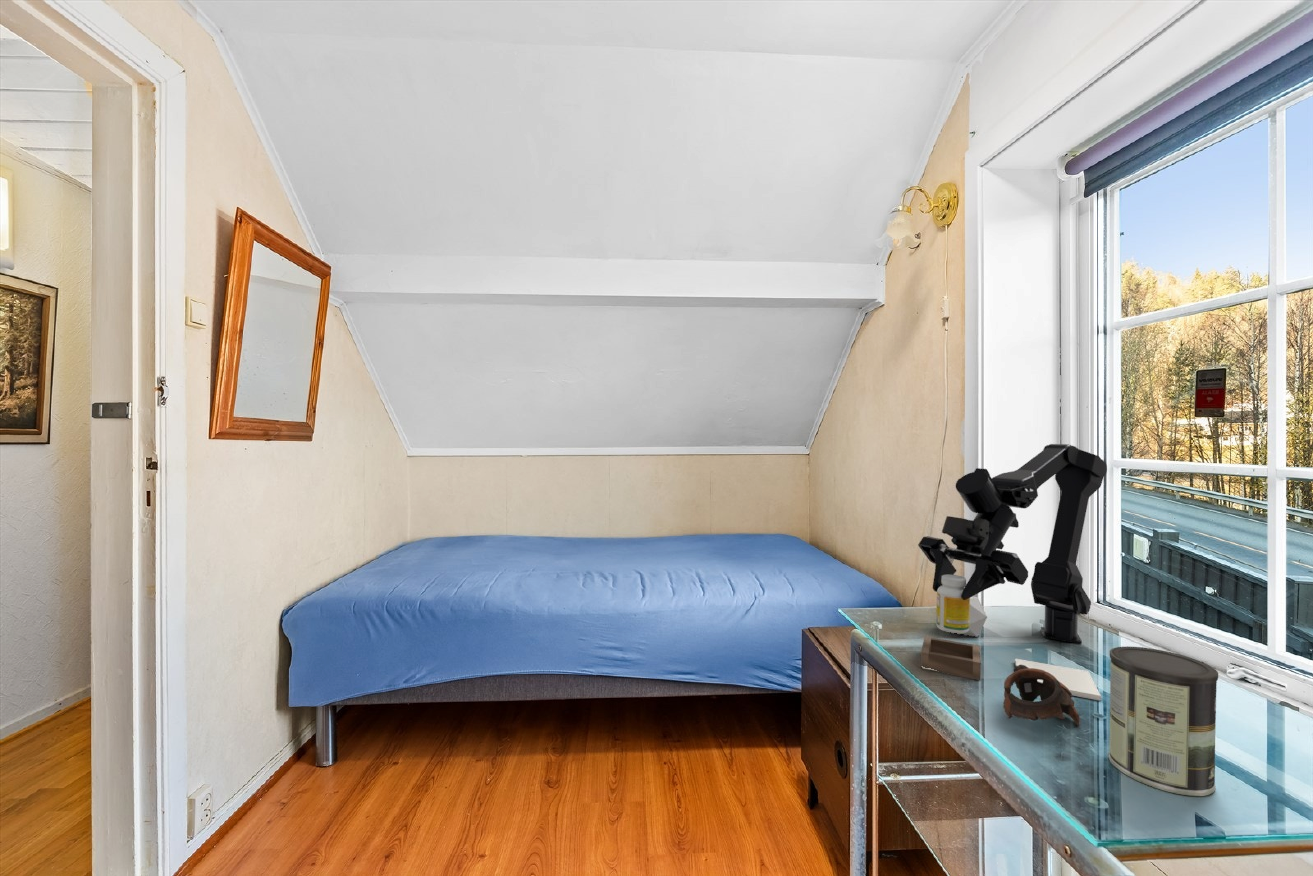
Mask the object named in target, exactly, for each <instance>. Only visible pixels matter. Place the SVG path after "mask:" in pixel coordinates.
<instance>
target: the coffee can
mask: <svg viewBox="0 0 1313 876" xmlns="http://www.w3.org/2000/svg"><path fill="white" fill-rule="evenodd" d="M1109 659H1110V678H1109V679H1110V680H1109V681H1110V687H1109V689H1110V690H1109V691H1110V692H1109V694H1110V695H1109V696H1110V697H1109V741H1108V742H1109V744H1108V745H1109V747H1108V748H1109V749H1108V751H1109V752H1108V761H1109V762H1110V763H1111V764H1112V766H1113V767H1115V768H1116V769H1117V770H1118V771H1120V772H1121V773H1122V774H1124V775H1126V776H1128V777H1130V778H1131V779H1133V780H1135V781H1136V782H1140V783H1141V784H1144V785H1147V786H1149V787H1152V788H1155V789H1157V790H1160V791H1164V792H1167V793H1172V794H1177V795H1183V796H1189V797H1190V796H1191V797H1205V796H1209V795H1212V794H1213V793H1215V791H1216V782H1215V780H1216V777H1215V775H1216V721H1217V719H1216V718H1217V717H1216V716H1217V684H1218V682H1217V681H1218V679H1219V672H1218V671H1217V669H1215V668H1214V667H1212V666H1211V665H1210V664H1207V663H1205V662H1203V661H1200V660H1198V659H1195V658H1192V657H1188V656H1186V655H1184V654H1180V653H1175V652H1171V651H1165V650H1161V649H1156V648H1155V649H1154V648H1151V647H1150V648H1148V647H1143V646H1142V647H1140V646H1116V647H1113V648H1111V649H1110V650H1109Z"/></svg>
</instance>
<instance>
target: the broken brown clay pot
mask: <svg viewBox="0 0 1313 876" xmlns="http://www.w3.org/2000/svg"><path fill="white" fill-rule="evenodd" d="M1012 671H1013V672H1012V673H1010V674H1009V675H1008V676H1007V677H1006V679H1005V681H1004V683H1003V689H1004V691H1003V692H1004V693H1003V696H1004V697H1003V698H1004V699H1003V709H1004V713H1005V714H1006V716H1007V718H1008V719H1011V718H1012V717H1015V718H1021V719H1024V720H1025V719H1026V720H1032V721H1038V719H1040V720H1042V721H1043V720H1048V719H1051V718H1058V719H1060V720H1065V716H1064V714H1066V715H1068V717H1070V718H1071V719H1072V720H1073V722H1074V724H1075V725H1076V726H1078V727H1080V715H1079V712H1078V710H1077V708H1076V707H1075V704H1076V703H1075V700H1073V699H1072V696H1073V695H1072V693H1071V692H1070V690H1069V689H1068V688H1067V687H1066V686H1065V685H1063V684H1062V683H1061V682H1059V681H1058V680H1057V679H1056V678H1055V677H1054V676H1053V675H1052V674H1050V673H1048V672H1045V671H1044V670H1040V669H1035V668H1028V667H1026V666H1025V665H1018V666H1016V665H1015V667H1013V669H1012ZM1038 679H1039V680H1043V683H1041V682H1038V681H1037V680H1038ZM1014 684H1015V685H1016V688H1017V689H1018V692H1019V697H1020V698H1019V697H1018V696H1016V695H1015V694H1014V693H1012V686H1013V685H1014ZM1038 697H1039V698H1040V700H1038V701H1035V700H1036V699H1038Z"/></svg>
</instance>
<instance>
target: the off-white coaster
mask: <svg viewBox="0 0 1313 876" xmlns="http://www.w3.org/2000/svg"><path fill="white" fill-rule="evenodd" d="M1014 664H1015V667H1016V666H1018V665H1025V666H1026V667H1028V668H1035V669H1040V670H1044V671H1045V672H1048V673H1050V674H1052V675H1053V676H1054V677H1055V678H1056V679H1057V680H1058V681H1059V682H1061V683H1062V684H1063V685H1065V686H1066V687H1067V688H1068V689H1069V690H1070V692H1071V693H1072V695H1071V696H1075V697H1079V698H1085V699H1089V700H1095V701H1099V702H1100V701H1102V695H1101V693H1100V691H1099V690H1098V687H1097V685H1096V683H1095V682H1094V680H1093V677H1092V676H1091V673H1090V671H1088V670H1083V669H1078V668H1072V667H1066V666H1061V665H1055V664H1050V663H1049V664H1048V663H1043V662H1037V661H1031V660H1025V659H1020V658H1014ZM1037 681H1038V682H1041V683H1043V680H1039V679H1038V680H1037Z"/></svg>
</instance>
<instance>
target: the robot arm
mask: <svg viewBox="0 0 1313 876" xmlns="http://www.w3.org/2000/svg"><path fill="white" fill-rule="evenodd" d="M1107 467H1108V466H1107V463H1106V462H1105V461H1104V460H1103V459H1102V458H1101V457H1100V456H1099V455H1097V454H1094V453H1091V452H1088V451H1085V450H1082V449H1079V448H1078V447H1077V446H1074V445H1072V444H1069V443H1068V444H1066V443H1064V444H1063V443H1050V444H1047V445H1045V446H1044V447H1043V449H1042V451H1040V452H1039V453H1038V454H1036V455H1035V456H1034V457H1032V458H1031V459H1030V460H1029V461H1027V462H1025V463H1024V464H1023V465H1022V466H1020V467H1019V468H1018V469H1016V470H1012V471H1008V472H1003V473H1000V474H997V475H995V476H993V477H991V475H990V474H991V473H990V472H989V471H988V469H987V468H981V467H977V468H975V469H974V471H973V472H972V471H971V472H969V473H967V474H964V475H963V476H961V477H960V478H958V479H957V481H956V483H955V490H956V491H957V492H958V494H959V495H960V497H961V498H962V500H963V501H964V503H965V505H966V506H967V508H968V509H969V510H970V511H971V512H973V513H974V514H975V513H976V516H975V517H974V519H972V520H971V519H967V518H962V517H955V516H949V515H946V517H945V520H944V524H943V527H942V530H941V533H942V534H944V535H945V534H946V535H948V536H949V537H951V539H950V540H951V541H950V542H951V543H952V544H953V545H955V546H956V548H953V547H950V546H948V545H947V543H946V542H945V539H943V538H938V537H934V536H923V537H922V538H921V540H920V541H919V542H918V544H917V546H918V547H919V548H920V549H921V552H922V553H923V554H924V555H925V557H926V558H927V559H928V560H929V562H931V563H932V564H934V565H935V566H934V567H935V568H934V575H933V580H932V581H933V582H932V590H933V591H934V592H935V593H937V589H938V588H939V587H940V586H943V584H942V582H941V580H942V575H955V574H956V572H957V571H958V570H957V568H955V566H954V564H953V563H954V560H956V561H961V562H962V563H968V564H973V565H975V567H974V571H973V573H972V574H971V576H970V578H969V579H968V581H967V582H966V586H965V587H964V590H963V592H962V594H961V598H962V599H963V600H967V599H968V598H970V597H975V596H976V595H978V594H980V593H981V592H984V591H985V590H987V589H990V588H992V587H994V586H997V585H999V584H1000V585H1005V584H1006V581H1007V582H1009V583H1013V584H1017V585H1022V586H1023V585H1025V583H1026V581H1027V579H1028V578H1029V571H1028V570H1027V567H1026V566H1025V564H1024V563H1023V562H1022V560H1021V558H1020V557H1019V556H1018V554H1017V553H1015V552H1010V551H1006V550H1005V551H1004V550H1003V548H1004V546H1005V545H1004V543H1003V542H1002V540H1003V539H1004V537H1005V535H1006V533H1007V532H1008V531H1009V529H1010V527H1011V528H1016V529H1018V528H1019V526H1020V525H1019V524H1020V523H1019V521H1018V519H1017V513H1015V512H1014V511H1013V510H1012V508H1018V509H1027V508H1029V507H1030V506H1031V505H1032V504H1033V503H1034V502H1035V501H1036V500H1037V498H1038V497H1039V493H1038V489H1039V488H1040V487H1041V486H1042V485H1044V484H1045V483H1046V482H1047V481H1048V480H1050V479H1051V478H1052V477H1054V480H1055V481H1056V484H1057V485H1058V488H1059V489H1060V497H1059V502H1058V507H1057V511H1056V517H1055V521H1054V526H1053V532H1052V536H1051V542H1050V544H1049V545H1050V547H1049V551H1048V554H1047V557H1046V558H1045V559H1044V560H1043V561H1041V562H1040V561H1036V563H1035V564H1034V568H1033V569H1034V571H1033V575H1032V577H1031V582H1030V588H1031V593H1032V597H1033V603H1034V604H1035V605H1041V606H1044V626H1040V632H1041V635H1042V636H1043V638H1044V639H1049V640H1054V641H1055V640H1056V641H1063V642H1068V643H1075V644H1082V643H1083V640H1082V638H1081V637H1080V635H1079V633H1078V628H1079V627H1078V626H1079V621H1078V620H1079V615H1088V614H1089V612H1090V609H1091V605H1092V601H1091V599H1090V598H1089V596H1088V595H1087V593H1086V591H1085V589H1084V588H1083V582H1084V581H1083V580H1084V579H1083V575H1082V574H1081V571H1080V570H1079V567H1078V565H1077V560H1078V555H1079V551H1080V545H1081V540H1082V539H1081V538H1082V534H1083V529H1084V525H1085V519H1086V514H1087V509H1088V504H1089V499H1090V497H1091V496H1092V495H1094V493H1096V492H1097V491H1098V490H1099V489H1100V488H1101V486H1102V484H1103V480H1104V477H1105V476H1106V475H1107V470H1108V468H1107Z"/></svg>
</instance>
